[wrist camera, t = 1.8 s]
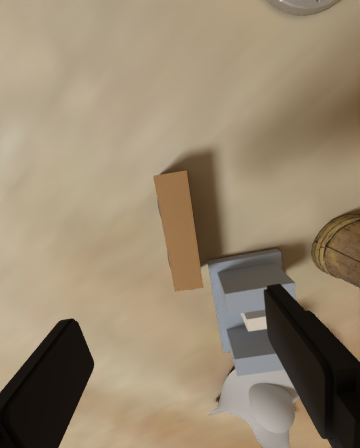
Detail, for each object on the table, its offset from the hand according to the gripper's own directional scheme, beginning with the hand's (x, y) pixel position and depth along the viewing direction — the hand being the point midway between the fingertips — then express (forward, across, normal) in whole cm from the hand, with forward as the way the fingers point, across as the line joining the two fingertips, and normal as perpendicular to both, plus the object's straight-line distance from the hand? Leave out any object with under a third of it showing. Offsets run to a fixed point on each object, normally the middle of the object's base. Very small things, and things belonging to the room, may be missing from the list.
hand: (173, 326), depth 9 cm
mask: (+18, -10, +31) cm, 37 cm away
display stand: (+17, -8, +14) cm, 24 cm away
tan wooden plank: (+18, 0, 0) cm, 18 cm away
